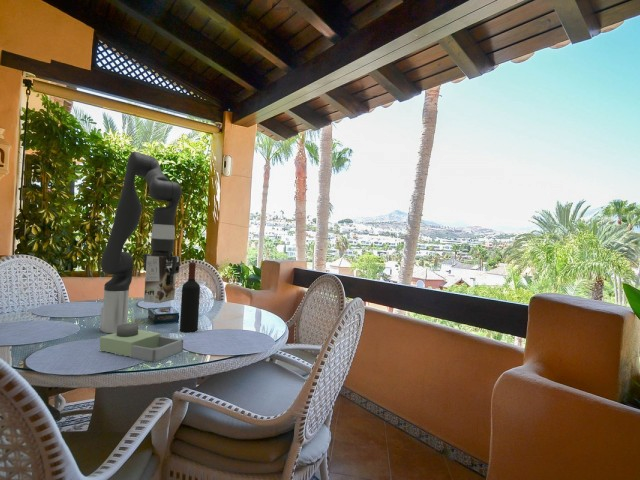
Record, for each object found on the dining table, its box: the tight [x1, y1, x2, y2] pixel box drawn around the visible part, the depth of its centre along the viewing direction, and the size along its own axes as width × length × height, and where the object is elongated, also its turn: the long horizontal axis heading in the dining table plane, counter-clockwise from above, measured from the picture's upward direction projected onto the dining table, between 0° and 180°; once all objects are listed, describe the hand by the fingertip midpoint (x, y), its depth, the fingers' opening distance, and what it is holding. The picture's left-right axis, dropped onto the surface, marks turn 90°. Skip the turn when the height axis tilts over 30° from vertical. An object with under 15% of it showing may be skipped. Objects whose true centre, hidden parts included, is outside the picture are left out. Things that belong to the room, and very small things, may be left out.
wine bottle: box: [179, 261, 201, 334], centre depth 165 cm, size 8×8×30 cm
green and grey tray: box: [99, 323, 184, 363], centre depth 134 cm, size 24×14×8 cm, turn 71°
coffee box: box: [143, 255, 178, 304], centre depth 132 cm, size 9×6×16 cm
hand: (160, 284), depth 132 cm, fingers closed on coffee box, 7 cm apart
